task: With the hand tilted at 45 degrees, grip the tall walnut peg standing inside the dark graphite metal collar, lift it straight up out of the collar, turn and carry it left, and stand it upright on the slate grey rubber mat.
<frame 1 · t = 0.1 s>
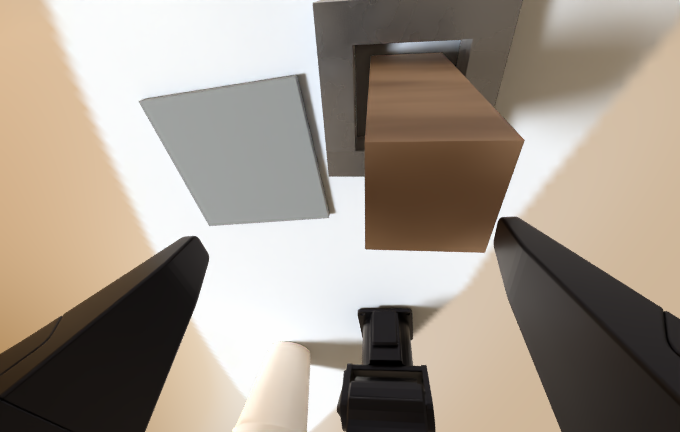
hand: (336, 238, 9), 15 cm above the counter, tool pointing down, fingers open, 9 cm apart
mat: (246, 162, 24), on the counter
walnut peg: (412, 127, 15), in the collar
foam cup: (290, 350, 45), on the counter
collar: (403, 90, 20), on the counter
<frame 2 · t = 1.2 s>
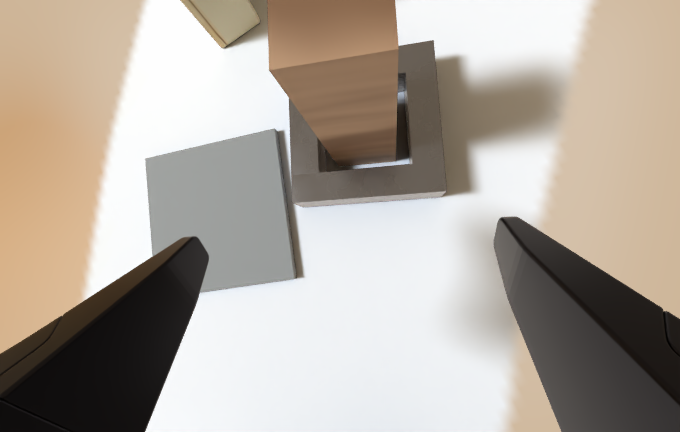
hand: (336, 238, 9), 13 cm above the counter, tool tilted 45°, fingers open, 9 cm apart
mat: (218, 215, 24), on the counter
walnut peg: (353, 94, 16), in the collar
skincare box: (230, 12, 26), on the counter
collar: (365, 136, 23), on the counter
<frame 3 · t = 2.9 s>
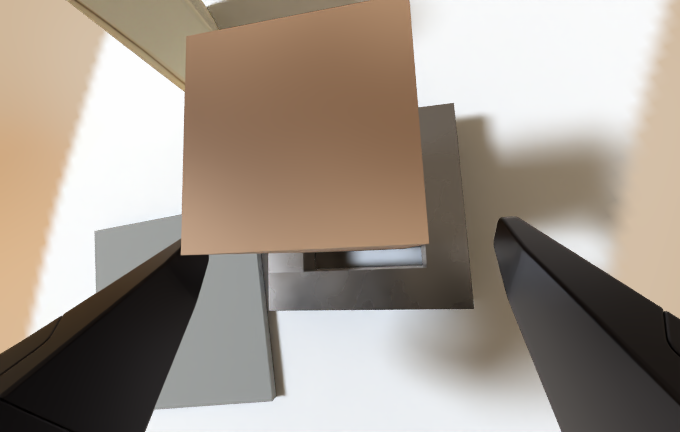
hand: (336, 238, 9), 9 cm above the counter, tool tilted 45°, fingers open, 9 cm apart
mat: (181, 306, 19), on the counter
walnut peg: (348, 194, 12), in the collar
skincare box: (202, 53, 22), on the counter
collar: (364, 214, 18), on the counter
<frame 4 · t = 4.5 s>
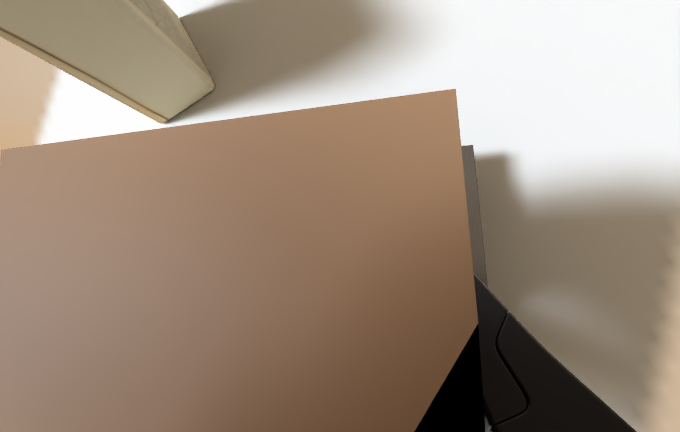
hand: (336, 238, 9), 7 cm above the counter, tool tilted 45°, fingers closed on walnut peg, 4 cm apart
walnut peg: (339, 285, 9), in the collar, touching gripper
skincare box: (175, 72, 19), on the counter
collar: (362, 270, 15), on the counter
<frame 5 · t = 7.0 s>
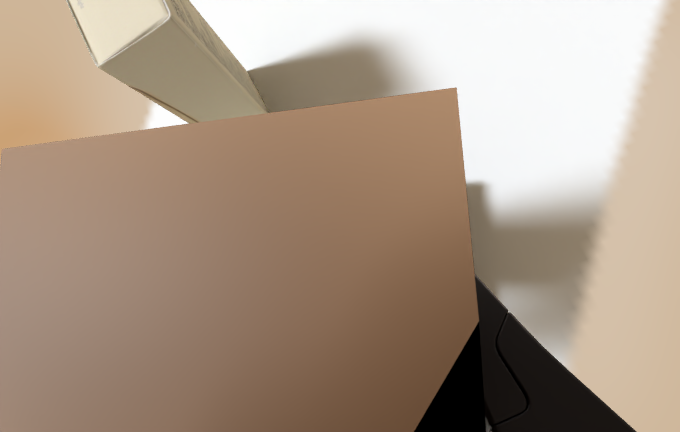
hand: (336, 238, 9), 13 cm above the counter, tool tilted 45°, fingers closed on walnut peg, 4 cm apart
walnut peg: (339, 285, 9), point 13 cm above the counter, touching gripper
skincare box: (243, 112, 25), on the counter
when the fingers open (9 cm above the counter, at t = 9.9 s): walnut peg drops 1 cm, resting on mat.
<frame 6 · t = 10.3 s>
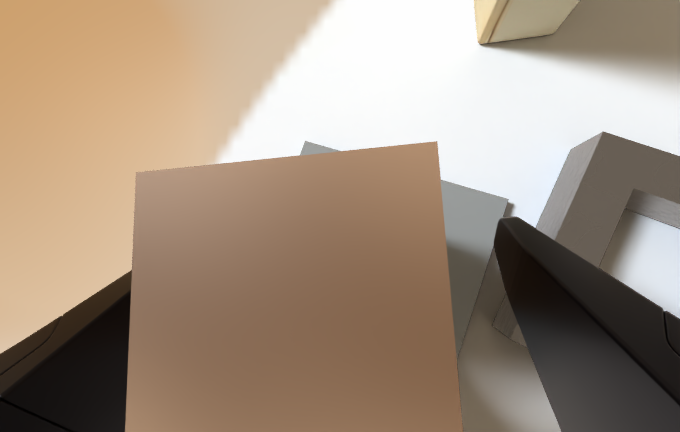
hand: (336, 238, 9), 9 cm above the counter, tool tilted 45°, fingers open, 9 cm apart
mat: (366, 266, 17), on the counter
walnut peg: (348, 276, 10), on the mat, point 7 cm above the counter
collar: (638, 280, 15), on the counter
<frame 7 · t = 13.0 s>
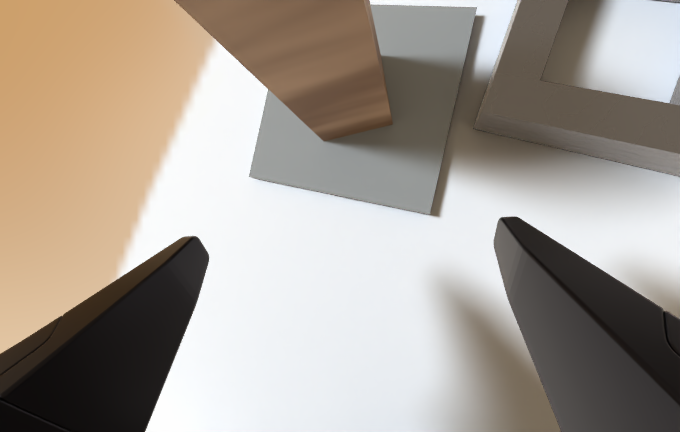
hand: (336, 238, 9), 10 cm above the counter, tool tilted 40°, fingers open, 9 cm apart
mat: (354, 103, 19), on the counter
walnut peg: (316, 30, 12), on the mat, point 7 cm above the counter
collar: (608, 57, 15), on the counter
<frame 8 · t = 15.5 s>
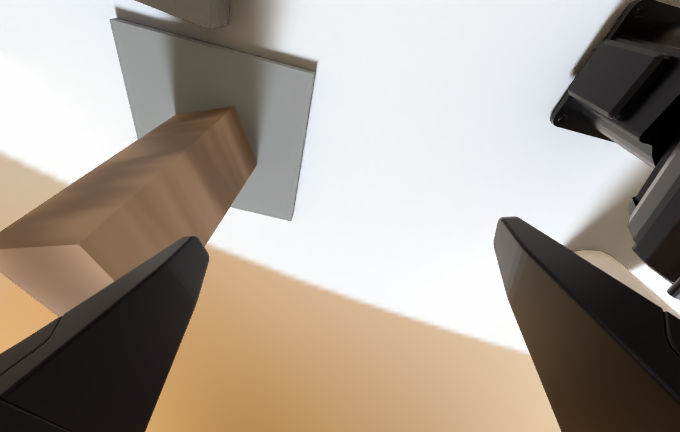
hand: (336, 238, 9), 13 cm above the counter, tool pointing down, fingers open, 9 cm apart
mat: (221, 136, 21), on the counter
walnut peg: (168, 191, 16), on the mat, point 7 cm above the counter
foam cup: (572, 272, 27), on the counter
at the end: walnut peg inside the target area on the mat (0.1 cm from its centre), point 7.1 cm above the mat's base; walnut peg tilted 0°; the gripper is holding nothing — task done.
